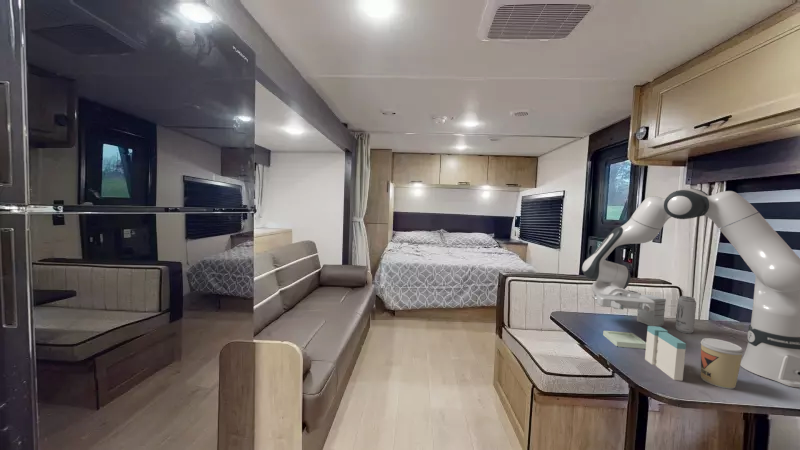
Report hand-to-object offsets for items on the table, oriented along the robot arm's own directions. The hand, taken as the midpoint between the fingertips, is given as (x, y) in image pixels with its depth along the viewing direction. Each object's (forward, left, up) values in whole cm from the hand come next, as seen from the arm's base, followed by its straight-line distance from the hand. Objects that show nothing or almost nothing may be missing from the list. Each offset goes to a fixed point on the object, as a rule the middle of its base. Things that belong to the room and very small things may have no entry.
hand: (635, 308), depth 125 cm
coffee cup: (-17, +20, -15) cm, 30 cm away
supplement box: (-15, -33, -15) cm, 40 cm away
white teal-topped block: (-3, +13, -15) cm, 20 cm away
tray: (+2, -3, -15) cm, 15 cm away
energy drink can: (-26, -28, -15) cm, 42 cm away
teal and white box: (-5, +19, -15) cm, 25 cm away
